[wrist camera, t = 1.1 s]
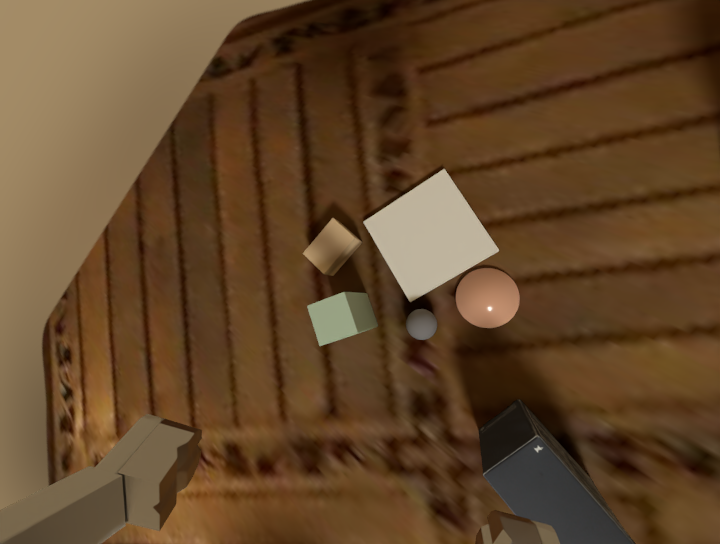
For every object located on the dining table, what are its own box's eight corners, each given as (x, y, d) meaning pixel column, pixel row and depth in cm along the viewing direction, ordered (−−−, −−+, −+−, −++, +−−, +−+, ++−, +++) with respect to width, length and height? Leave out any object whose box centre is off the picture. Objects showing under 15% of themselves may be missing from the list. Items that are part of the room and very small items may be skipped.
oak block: (342, 223, 47) (332, 217, 43) (362, 242, 45) (354, 237, 42) (314, 256, 47) (302, 253, 44) (333, 275, 46) (323, 274, 43)
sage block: (366, 293, 45) (344, 291, 36) (378, 326, 44) (357, 332, 35) (336, 304, 46) (307, 306, 37) (347, 337, 45) (319, 346, 36)
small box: (473, 430, 40) (477, 475, 30) (518, 396, 39) (538, 430, 29) (543, 514, 37) (573, 593, 27) (593, 479, 36) (644, 549, 26)
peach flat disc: (496, 257, 41) (497, 256, 40) (530, 309, 39) (532, 309, 38) (444, 287, 42) (444, 287, 41) (476, 338, 41) (476, 338, 40)
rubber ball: (428, 303, 42) (425, 303, 39) (443, 329, 41) (442, 331, 38) (403, 317, 43) (398, 319, 40) (418, 343, 42) (414, 347, 39)
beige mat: (444, 171, 43) (444, 168, 42) (498, 251, 40) (499, 250, 40) (364, 223, 45) (363, 221, 45) (410, 302, 43) (409, 302, 42)
